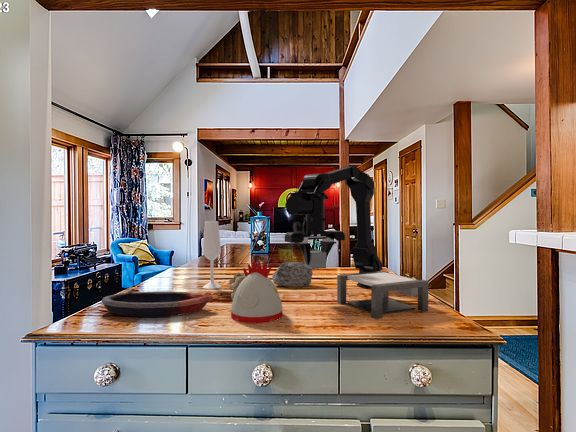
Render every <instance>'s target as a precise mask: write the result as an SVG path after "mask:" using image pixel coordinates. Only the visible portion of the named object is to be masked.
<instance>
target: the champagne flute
mask: <svg viewBox="0 0 576 432" xmlns="http://www.w3.org/2000/svg"><path fill="white" fill-rule="evenodd" d="M219 227H220V226H219V221H217V220H216V221H215V220H206V221H204V229H203V241H202V250H201V251H202V254H203V256H204V257H205V258H206V259H207V260H208V261H209V263H210V264H209V265H210V267H209V268H210V273H209V275H210V280H209V282H208V283H206V284H204V286H202V288H203V289H206V290H207V289H209V290H210V289H212V290H213V289H214V290H215V289H220V288H222V285H220V284H219V283H217V282H215V281H214V280H215V279H214V278H215V276H214V274H215V273H214V272H215V271H214V268H215V267H214V263H215V260H216V259H217V258H218V257H219V256H220V255H221V252H222V245H221V235H220V228H219Z"/></svg>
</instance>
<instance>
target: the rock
mask: <svg viewBox="0 0 576 432" xmlns="http://www.w3.org/2000/svg"><path fill="white" fill-rule="evenodd" d="M271 276H272V282H273V283H274V285H275V286H276V285H277V286H281V287H295V288H298V287H301V288H302V287H308V286H309V285H310V284H312V280H313V279H312V278H313V269H309V268H306V267H305V261H304V262H301V261H300V262H299V261H290V262H289V261H288V262H287V261H286V262H282V263H281V264H280V265H279V266H278V267H277V269H276V270H275V271H274V273H273V274H272V275H271Z"/></svg>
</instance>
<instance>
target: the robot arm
mask: <svg viewBox="0 0 576 432" xmlns="http://www.w3.org/2000/svg"><path fill="white" fill-rule="evenodd" d="M343 181H345V185H346V186H347V187H348V188H349V192H350V195H351V197H352V199H353V200H354V202H355V215H356V216H355V217H356V234H357V235H356V236H357V243H356V244H355V246H353V247H352V257H351V258H352V259H353V263H354V264H353V265H354V268H355V270H358V273H365V272H376V271H383V266H384V265H383V262H382V261H381V259H380V257H379V256H378V251H377V250H378V249H377V248H376V246H375V245H374V243H373V240H372V239H373V238H372V224H371V223H372V222H371V221H372V220H371V219H372V217H371V200H372V199H373V197H374V195H375V185H376V183H375V180H374V179H373V178H372V177H371V176H370V174H368V173H366V172H364V171H363V170H361V169H360V168H359V167H358V166H356V165H345V166H343V167H340V168H338V169H334V170H331V171H328V172H324V173H323V172H322V173H313V174H311V173H310V174H305V175H304V176H303V179H302V181H301V183H300V185H299V187H298V189H297V190H296V191H290V193H289V194H290V195H289V196H288V198H286V199H287V200H286V202H285V211H286V213H288V214H289V215H291V216H301V215H305V216H304V218H303V223H301V222H300V221H294V222H293V223H292V230H293V231H292V232H290V231H289V232H286V233H285V234H284V242H285V243H291V244H295V245H298V247H299V248H300V250H301V253H302V255H303V258H304V262H306V264H307V265H309V262H310V251H311V242H309V241H310V240H313V241H314V240H319V242H320V247H321V250H320V251H324V252H326V259H327V258H328V256H329V254H330V252H331V250H332V248H333V247H334V245H335V244H337V241H339V242H340V241H346V234H345V232H344V231H340V230H325V222H327V217H325V200H329V199H330V198H329V196H328V195H327V194H326V193H325V192H326V191H327V190H329V189H330V188H331V187H332V185H334V184H337V183H339V182H343ZM335 240H336V241H335ZM356 286H357V287H361V288H364V289H371V286H368V285H365V284H362V283H358V282H357V283H356Z"/></svg>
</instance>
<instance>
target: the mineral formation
mask: <svg viewBox="0 0 576 432" xmlns="http://www.w3.org/2000/svg"><path fill="white" fill-rule="evenodd" d="M245 277H246V276H245V274H244V272H239V271H237V272H235V274H234V275H233V277H232V278H230V279H229V281H228V282H229V283H228V284H229V285H230V286H229V290H230V291H232V292H231V294H230V299H231V300H232V301H233V298H234V295H235V292H236V290H237V288H238V286H239V284H240V283H241V282H242V280H243V279H244V278H245Z"/></svg>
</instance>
